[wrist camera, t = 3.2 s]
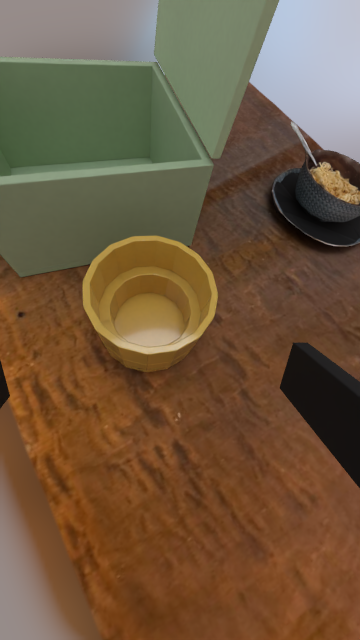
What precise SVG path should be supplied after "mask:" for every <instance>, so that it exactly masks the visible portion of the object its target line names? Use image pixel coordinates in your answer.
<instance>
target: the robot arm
mask: <svg viewBox="0 0 360 640" xmlns="http://www.w3.org/2000/svg"><path fill="white" fill-rule="evenodd" d="M280 389H281V390H282V392H283V393H284V394H285V395H286V397H287V398H288V399H289V400H290V402H291V403H292V404H293V405H294V407H295V408H296V409H297V410H298V412H299V413H300V414H301V415H302V417H303V418H304V419H305V420H306V422H307V423H308V424H309V425H310V427H311V428H312V429H313V430H314V432H315V433H316V434H317V435H318V437H319V438H320V439H321V440H322V442H323V443H324V444H325V445H326V447H327V448H328V449H329V450H330V452H331V453H332V454H333V455H334V457H335V458H336V459H337V461H338V462H339V463H340V464H341V466H342V467H343V468H344V469H345V471H346V472H347V473H348V474H349V476H350V477H351V478H352V479H353V481H354V482H355V483H356V484H357V486H358V487H359V488H360V382H359V381H358V380H356V379H355V378H354V377H352V376H351V375H350V374H348V373H347V372H346V371H344V370H343V369H342V368H340V367H339V366H338V365H336V364H335V363H334V362H332V361H331V360H330V359H328V358H327V357H326V356H324V355H323V354H322V353H320V352H319V351H318V350H316V349H315V348H314V347H312V346H311V345H310V344H308V343H293V345H292V349H291V352H290V355H289V359H288V362H287V365H286V369H285V372H284V375H283V378H282V382H281V385H280ZM9 397H10V394H9V391H8V387H7V383H6V379H5V376H4V372H3V368H2V364H1V361H0V408H1V407H2V405H3V404H4V403H5V402H6V400H7V399H8V398H9Z"/></svg>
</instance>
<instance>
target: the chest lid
mask: <svg viewBox="0 0 360 640" xmlns="http://www.w3.org/2000/svg"><path fill="white" fill-rule="evenodd" d="M278 2H279V0H159V3H158V4H159V5H158V15H157V27H156V37H155V50H154V55H155V57H156V59H157V61H158V63H159V64H160V66H161V68H162V70H163V72H164V73H165V75H166V77H167V79H168V81H169V82H170V84H171V86H172V88H173V90H174V91H175V93H176V95H177V97H178V99H179V100H180V102H181V104H182V106H183V108H184V109H185V111H186V113H187V115H188V117H189V118H190V120H191V122H192V124H193V126H194V127H195V129H196V131H197V133H198V135H199V136H200V138H201V140H202V142H203V144H204V145H205V147H206V149H207V151H208V152H209V154H210V156H211V158H215V159H219V158H220V157H221V154H222V152H223V149H224V146H225V144H226V141H227V138H228V136H229V133H230V130H231V128H232V125H233V122H234V120H235V117H236V114H237V112H238V109H239V106H240V104H241V101H242V98H243V96H244V93H245V90H246V88H247V85H248V82H249V79H250V77H251V74H252V71H253V69H254V66H255V64H256V61H257V58H258V55H259V53H260V50H261V47H262V45H263V42H264V40H265V37H266V34H267V31H268V29H269V26H270V23H271V21H272V18H273V15H274V13H275V10H276V7H277V5H278Z"/></svg>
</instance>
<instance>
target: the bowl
mask: <svg viewBox="0 0 360 640" xmlns="http://www.w3.org/2000/svg"><path fill="white" fill-rule="evenodd" d="M82 285H83V308H84V309H85V311H86V313H87V315H88V317H89V319H90V321H91V323H92V324H93V326H94V328H95V330H96V332H97V333H98V335H99V337H100V339H101V340H102V342H103V344H104V345H105V347H106V349H107V351H108V352H109V354H110V355H111V356H112V357H113V358H115V359H116V360H117V361H119V362H120V363H121V364H122V365H124V366H125V367H127V368H131V369H135V370H139V371H143V372H152V371H159V370H165V369H168V368H170V367H171V366H173V365H175V364H176V363H178V362H180V361H181V360H183V359H184V358H185V357H186V355H187V354H188V353H189V351H190V350H191V349H192V347H193V346H194V345H195V343H196V342H197V341H198V339H199V338H200V337H201V335H202V334H203V333H204V331H205V330H206V328H207V327H208V326H209V324H210V323H211V321H212V320H213V318H214V316H215V310H216V305H217V299H218V292H217V288H216V284H215V280H214V277H213V273H212V272H211V270H210V269H209V267H208V266H207V265H206V263H205V262H204V261H203V259H202V258H201V257H200V255H199V254H197V253H196V252H194V251H193V250H191V249H190V248H188V247H187V246H185V245H184V244H182V243H181V242H178V241H175V240H171V239H168V238H164V237H161V236H132V237H130V238H127V239H124V240H121V241H119V242H116V243H113V244H111V245H109V246H108V247H107V248H106V249H105V250H104V251H103V252H101V253H100V254H99V255H98V256H97V257H96V258H95V259H93V261H92V263H91V265H90V267H89V269H88V271H87V273H86V275H85V278H84V280H83V283H82Z"/></svg>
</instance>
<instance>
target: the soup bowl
mask: <svg viewBox="0 0 360 640" xmlns="http://www.w3.org/2000/svg"><path fill="white" fill-rule="evenodd" d="M291 125H292V128H293V130H294V131H295V132H296V133H297V135H298V137H299V138H300V140H301V142H302V145H303V147H304V149H305V153H306V159H305V162H304V164H303V166H302V168H293V169H289V170H286V171H284V172H282V173H281V174H279V175H278V176H277V177H276V179H275V180H274V183H273V190H272V197H273V203H274V206H275V209H276V212H277V213H281V214H283V215H284V216H285V218H286V219H288V221H289V222H291V223H292V224H293V225H294V226H296V227H297V228H298V229H300V230H301V231H302V232H304V233H305V234H306V235H308V236H310V237H312V238H313V239H315V240H317V241H319V242H322V243H324V244H327V245H331V246H353V245H355V244H358V243H360V164H359V163H358V162H356V161H355V160H353V159H350V158H349V157H347V156H345V155H342V154H339V153H337V152H334V151H327V150H315V151H314V152H312V153H311V151H310V149H309V148H308V146H307V143H306V141H305V140H304V138H303V136H302V135H301V133H300V131H299V129H298V127H297V125H296V124H295V123H294V122H292V121H291Z"/></svg>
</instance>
